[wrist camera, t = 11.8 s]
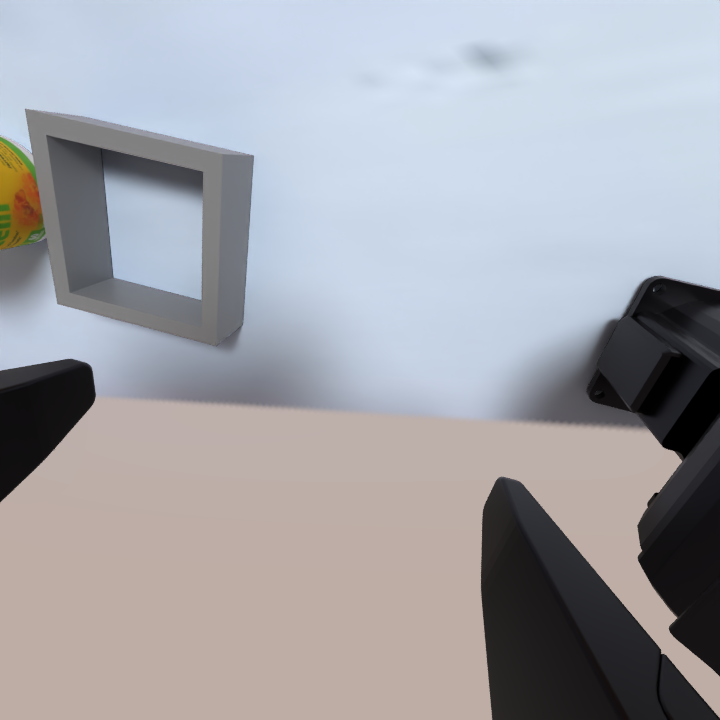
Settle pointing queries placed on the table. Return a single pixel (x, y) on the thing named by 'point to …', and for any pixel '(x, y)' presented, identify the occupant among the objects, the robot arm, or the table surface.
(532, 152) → the table surface
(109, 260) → the frame
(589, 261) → the table surface
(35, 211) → the supplement bottle
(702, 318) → the robot arm
